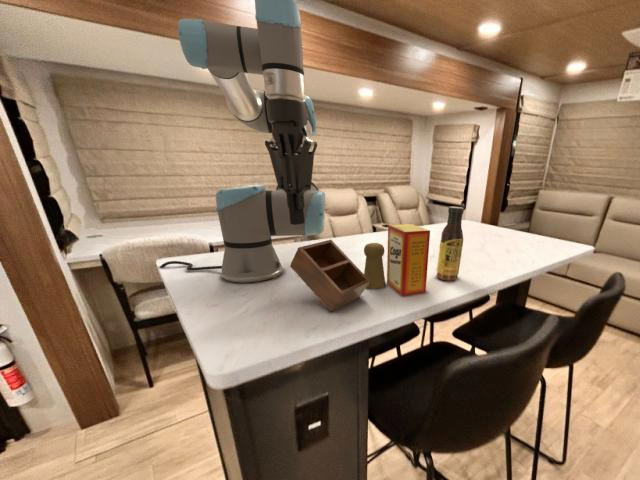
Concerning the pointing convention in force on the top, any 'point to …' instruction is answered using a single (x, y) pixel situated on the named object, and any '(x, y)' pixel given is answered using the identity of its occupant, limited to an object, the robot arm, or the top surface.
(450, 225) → the sauce bottle
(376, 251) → the cork
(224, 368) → the top surface
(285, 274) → the top surface
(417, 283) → the baking soda box
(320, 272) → the walnut shelf
